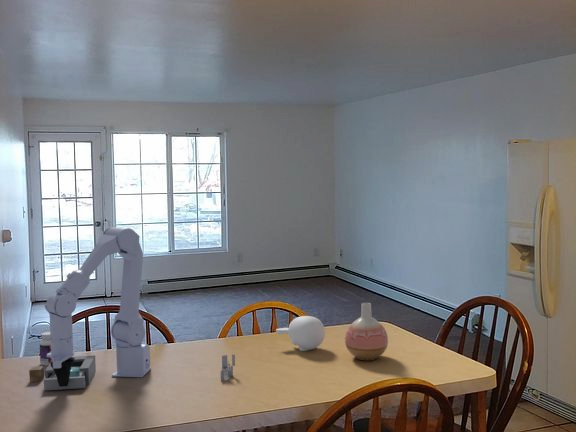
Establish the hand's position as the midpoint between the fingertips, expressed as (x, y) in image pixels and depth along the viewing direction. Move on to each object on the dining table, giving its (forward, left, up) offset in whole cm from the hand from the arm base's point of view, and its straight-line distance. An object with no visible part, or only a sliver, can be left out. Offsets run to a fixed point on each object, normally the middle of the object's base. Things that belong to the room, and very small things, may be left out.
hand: (63, 385), depth 169 cm
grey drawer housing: (+3, -10, -2) cm, 10 cm away
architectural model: (-48, -14, -3) cm, 50 cm away
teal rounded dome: (+2, -7, 0) cm, 8 cm away
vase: (-83, -37, -2) cm, 91 cm away
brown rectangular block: (+13, -9, -2) cm, 15 cm away
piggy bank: (-62, -47, -2) cm, 78 cm away
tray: (+2, -7, -2) cm, 8 cm away
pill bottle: (+17, -24, -2) cm, 29 cm away
